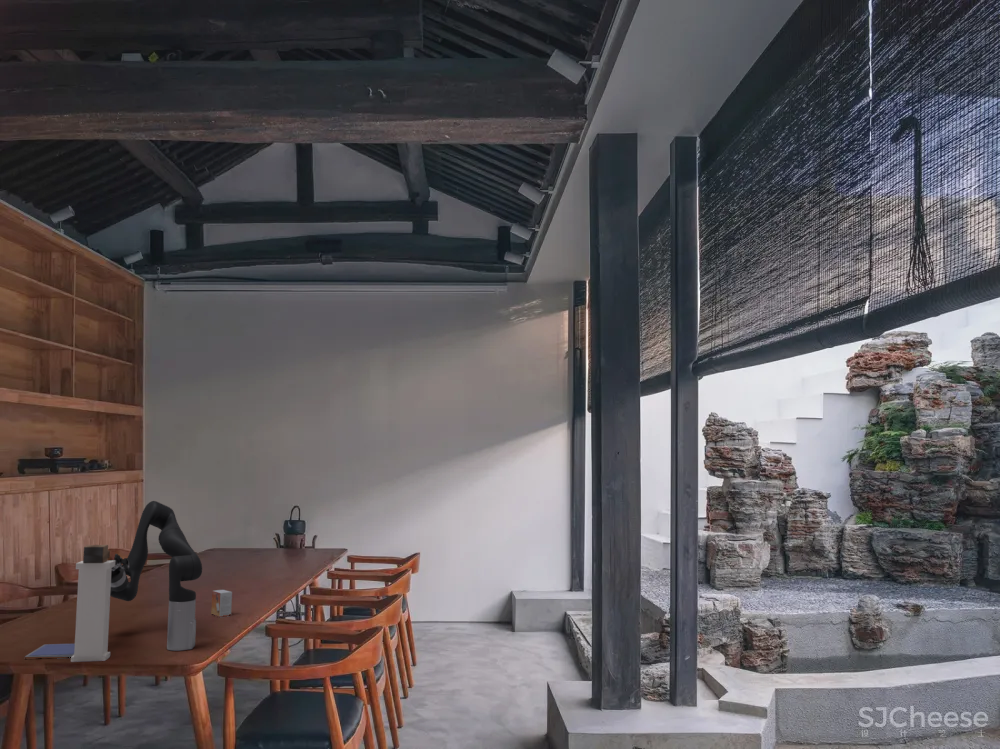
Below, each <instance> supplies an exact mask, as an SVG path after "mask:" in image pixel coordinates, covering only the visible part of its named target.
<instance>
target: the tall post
mask: <svg viewBox="0 0 1000 749" xmlns="http://www.w3.org/2000/svg"><path fill="white" fill-rule="evenodd" d="M112 567H115V561H109V560H107V561H106V562H104V563H83V560H81V561H78V562H76V563H75V570H78V578H77V594H76V595H77V599H76V615H75V632H74V633H75V634H74V644H75V649H74V655H73V656H72V657H71V658H70V662H71V663H77V662H78V663H79V662H102V661H103V662H105V661H106V660H108V659H109V658H110V657H111V651H108V649H109V648H108V646H109V626H110V608H111V607H110V604H111V596H110V590H111V570H112Z"/></svg>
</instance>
